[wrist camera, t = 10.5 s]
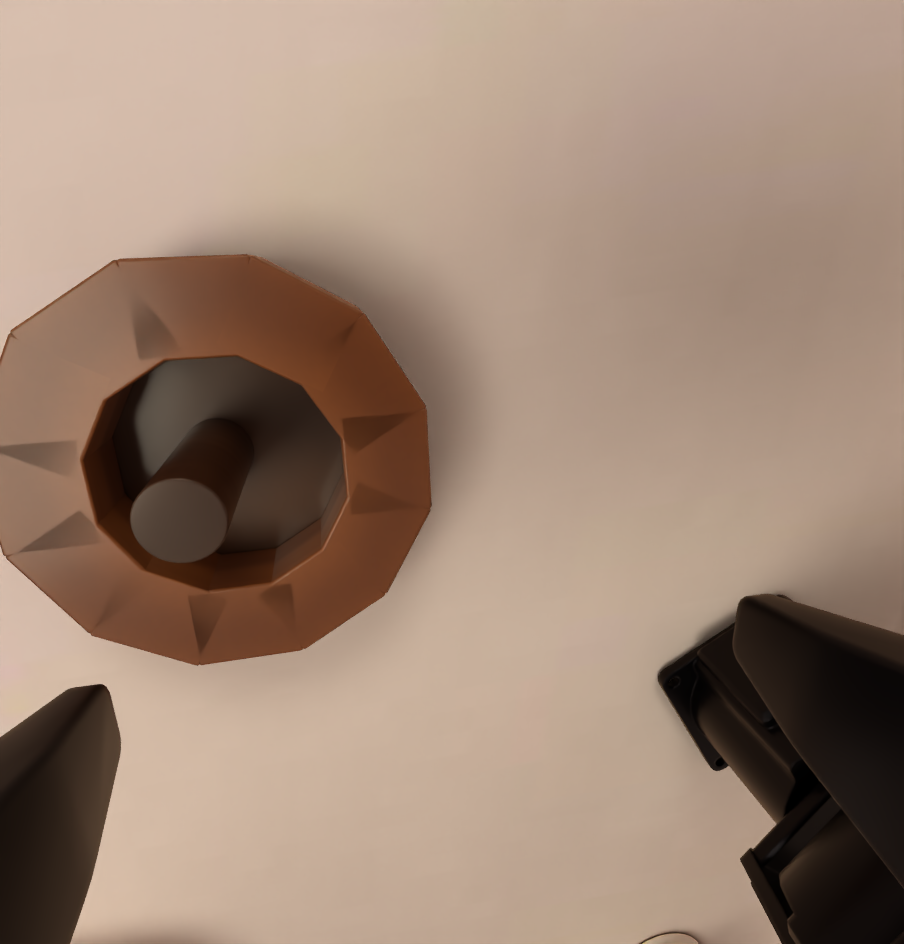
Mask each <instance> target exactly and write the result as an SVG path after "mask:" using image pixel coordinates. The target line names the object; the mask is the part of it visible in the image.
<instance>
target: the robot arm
mask: <svg viewBox="0 0 904 944" xmlns="http://www.w3.org/2000/svg"><path fill="white" fill-rule="evenodd" d="M673 678H674V679H673ZM671 679H673V680H672V681H670V680H671ZM669 681H670V682H669ZM658 682H659V684H660V686H661V688H662V689H663V691H664V693H665V694H666V696H667V698H668V699H669V701H670V703H671V704H672V706H673V708H674V709H675V711H676V713H677V714H678V716H679V718H680V719H681V721H682V722H683V724H684V726H685V727H686V729H687V731H688V732H689V734H690V736H691V737H692V739H693V741H694V742H695V744H696V746H697V747H698V749H699V751H700V752H701V754H702V755H703V757H704V759H705V760H706V762H707V763H708V764H709V766H710V767H711V768H712V769H713V770H715V771H720V770H722V769H724V768H726V767H728V766H730V767H731V769H732V770H733V771H734V772H735V774H736V775H737V776H738V777H739V778H740V780H741V781H742V782H743V783H744V785H745V786H746V787H747V788H748V789H749V791H750V792H751V793H752V794H753V796H754V797H755V798H756V799H757V800H758V802H759V803H760V804H761V805H762V807H763V808H764V809H765V810H766V811H767V813H768V814H769V815H770V816H771V818H772V819H773V820H774V821H775V822H776V826H775V827H774V828H773V829H772V830H771V831H770V832H769V833H768V834H767V835H766V836H765V837H764V838H763V839H762V840H761V841H760V843H759V844H758V845H757V846H756V847H755V848H754V849H752V848H750V849H749V850H748V851H747V852H746V853H745V854H744V855H743V856H742V857H741V858H740V860H741V862H742V864H743V866H744V868H745V870H746V872H747V874H748V876H749V878H750V880H751V885H752V887H753V889H754V891H755V893H756V895H757V897H758V899H759V901H760V903H761V904H762V906H763V908H764V910H765V912H766V914H767V916H768V918H769V920H770V922H771V924H772V925H773V927H774V929H775V931H776V933H777V935H778V937H779V939H780V941H781V943H782V944H904V635H901V634H898V633H895V632H891V631H888V630H885V629H882V628H878V627H875V626H872V625H869V624H866V623H862V622H859V621H856V620H853V619H849V618H846V617H843V616H840V615H836V614H833V613H830V612H827V611H823V610H820V609H817V608H814V607H810V606H807V605H804V604H801V603H797V602H794V601H792V600H791V599H790V598H788V597H787V596H785V595H777V596H775V595H771V594H760V595H753V596H746V597H744V598H743V599H741V601H740V602H739V604H738V609H737V615H736V622H735V623H734V624H732V625H731V626H729V627H728V628H726V629H725V630H723V631H721V632H720V633H718V634H717V635H715V636H714V637H712V638H711V639H709V640H708V641H706V642H705V643H703V644H702V645H700V646H699V647H697V648H696V649H694V650H693V651H691V652H690V653H688V654H687V655H685V656H684V657H682V658H681V659H679V660H678V661H676V662H675V663H673V664H671V665H670V666H668V667H667V668H665V669H664V670H663V671H662V672H661V673H660V675H659V676H658ZM120 752H121V737H120V732H119V728H118V724H117V720H116V716H115V712H114V708H113V703H112V699H111V695H110V692H109V690H108V689H107V687H106V686H104V685H102V684H97V685H90V686H82V687H75V688H70V689H68V690H66V691H65V692H63V693H62V694H60V695H59V696H58V697H56V698H55V699H53V700H52V701H51V702H49V703H48V704H46V705H45V706H44V707H42V708H41V709H39V710H38V711H37V712H35V713H34V714H32V715H31V716H30V717H28V718H27V719H25V720H24V721H23V722H21V723H20V724H18V725H17V726H16V727H14V728H13V729H11V730H10V731H8V732H7V733H6V734H4V735H3V736H1V737H0V944H70V942H71V939H72V936H73V933H74V930H75V927H76V925H77V922H78V919H79V916H80V913H81V910H82V907H83V904H84V901H85V898H86V895H87V892H88V888H89V885H90V882H91V879H92V875H93V871H94V867H95V863H96V859H97V855H98V851H99V846H100V842H101V838H102V833H103V829H104V824H105V820H106V815H107V811H108V807H109V802H110V798H111V793H112V789H113V784H114V780H115V776H116V771H117V767H118V762H119V758H120Z"/></svg>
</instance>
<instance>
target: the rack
mask: <svg viewBox="0 0 904 944" xmlns="http://www.w3.org/2000/svg"><path fill="white" fill-rule="evenodd" d="M112 439H113V444H114V448H115V452H116V457H117V461H118V466H119V470H120V475H121V479H122V483H123V488H124V492H125V494H126V495H127V496H128V497H129V498H130V499H131V500H132V501H133V505H132V508H131V512H130V525H131V529H132V532H133V534H134V536H135V538H136V540H137V541H138V543H139V544H140V545H141V546H142V547H143V548H144V549H145V550H146V551H147V552H148V553H150V554H151V555H153V556H155V557H157V558H159V559H161V560H164V561H168V562H173V563H190V562H195V561H198V560H201V559H204V558H206V557H208V556H209V555H211V554H212V553H214V552H215V553H218V554H221V555H223V554H231V553H240V552H248V551H256V550H265V549H273V548H278V547H279V546H281V545H282V544H283V543H285V542H286V541H288V540H289V539H291V538H292V537H294V536H295V535H297V534H298V533H300V532H301V531H303V530H304V529H306V528H307V527H309V526H310V525H312V524H313V523H315V522H316V521H318V520H319V519H321V517H322V515H323V513H324V511H325V509H326V507H327V505H328V503H329V501H330V499H331V497H332V494H333V492H334V490H335V488H336V486H337V484H338V482H339V480H340V478H341V476H342V474H343V472H344V471H343V461H342V451H341V441H340V436H339V435H338V434H337V432H336V431H335V430H334V428H333V427H332V426H331V424H330V423H329V422H328V420H327V419H326V418H325V416H324V415H323V414H322V412H321V411H320V410H319V408H318V407H317V406H316V404H315V403H314V402H313V400H312V399H311V398H310V396H309V395H308V394H307V392H306V391H305V390H304V388H303V387H302V385H299V384H297V383H295V382H293V381H291V380H288V379H286V378H284V377H282V376H280V375H278V374H275V373H273V372H271V371H269V370H267V369H264V368H262V367H260V366H258V365H256V364H253V363H251V362H249V361H247V360H245V359H242V358H240V357H238V356H233V357H218V358H202V359H186V360H170V361H166V362H164V363H163V364H161V365H160V366H158V367H157V368H156V369H154V370H153V371H151V372H150V373H148V374H147V375H145V376H144V377H142V378H141V379H139V380H138V381H136V382H135V383H133V385H132V388H131V390H130V393H129V396H128V398H127V401H126V403H125V406H124V408H123V411H122V413H121V416H120V418H119V421H118V423H117V426H116V428H115V431H114V433H113V436H112Z"/></svg>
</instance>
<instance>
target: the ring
mask: <svg viewBox="0 0 904 944" xmlns="http://www.w3.org/2000/svg"><path fill="white" fill-rule="evenodd" d="M233 356H238V357H240V358H242V359H245V360H247V361H249V362H251V363H253V364H256V365H258V366H260V367H262V368H264V369H267V370H269V371H271V372H273V373H275V374H278V375H280V376H282V377H284V378H286V379H288V380H291V381H293V382H295V383H297V384H299V385H302V387H303V388H304V390H305V391H306V392H307V394H308V395H309V396H310V398H311V399H312V400H313V402H314V403H315V404H316V406H317V407H318V408H319V410H320V411H321V412H322V414H323V415H324V416H325V418H326V419H327V420H328V422H329V423H330V424H331V426H332V427H333V428H334V430H335V431H336V432H337V434H338V435H339V436H340V441H341V451H342V461H343V471H344V472H343V474H342V476H341V478H340V480H339V482H338V484H337V486H336V488H335V490H334V492H333V494H332V497H331V499H330V501H329V503H328V505H327V507H326V509H325V511H324V513H323V515H322V517H321V519H319V520H318V521H316V522H315V523H313V524H312V525H310V526H309V527H307V528H306V529H304V530H303V531H301V532H300V533H298V534H297V535H295V536H294V537H292V538H291V539H289V540H288V541H286V542H285V543H283V544H282V545H281V546H279V547H278V548H273V549H265V550H256V551H248V552H240V553H231V554H223V555H221V554H218V553H215V552H214V553H212V554H211V555H209V556H208V557H206V558H204V559H201V560H198V561H195V562H190V563H173V562H168V561H164V560H161V559H159V558H157V557H155V556H153V555H151V554H150V553H148V552H147V551H146V550H145V549H144V548H143V547H142V546H141V545H140V544H139V543H138V541H137V540H136V538H135V536H134V534H133V532H132V529H131V525H130V512H131V508H132V505H133V501H132V500H131V499H130V498H129V497H128V496H127V495H126V494H125V492H124V488H123V483H122V479H121V475H120V470H119V466H118V461H117V457H116V452H115V448H114V444H113V439H112V436H113V433H114V431H115V428H116V426H117V423H118V421H119V418H120V416H121V413H122V411H123V408H124V406H125V403H126V401H127V398H128V396H129V393H130V390H131V388H132V385H133V383H135V382H136V381H138V380H139V379H141V378H142V377H144V376H145V375H147V374H148V373H150V372H151V371H153V370H154V369H156V368H157V367H158V366H160V365H161V364H163V363H164V362H166V361H170V360H186V359H202V358H218V357H233ZM431 506H432V502H431V483H430V464H429V444H428V425H427V410H426V405H425V404H424V402H423V401H422V399H421V398H420V396H419V395H418V393H417V392H416V390H415V389H414V387H413V386H412V384H411V383H410V381H409V380H408V378H407V377H406V375H405V374H404V372H403V371H402V369H401V368H400V366H399V365H398V363H397V362H396V360H395V359H394V357H393V356H392V354H391V353H390V351H389V350H388V348H387V347H386V345H385V344H384V342H383V341H382V339H381V338H380V336H379V335H378V333H377V332H376V330H375V329H374V327H373V326H372V324H371V323H370V321H369V320H368V318H367V317H366V315H365V314H364V313H363V312H362V311H361V310H360V309H359V308H357V306H356V305H354V304H352V303H350V302H348V301H346V300H344V299H342V298H340V297H338V296H336V295H334V294H332V293H330V292H328V291H326V290H324V289H323V288H321V287H319V286H317V285H315V284H313V283H311V282H309V281H307V280H305V279H303V278H301V277H299V276H297V275H295V274H293V273H291V272H290V271H288V270H286V269H284V268H282V267H280V266H278V265H276V264H274V263H272V262H270V261H268V260H266V259H264V258H262V257H258V256H254V255H248V254H241V255H212V256H184V257H155V258H127V259H118V260H113V261H112V262H110V263H109V264H107V265H106V266H104V267H103V268H101V269H100V270H99V271H97V272H96V273H94V274H93V275H91V276H90V277H88V278H87V279H85V280H84V281H82V282H81V283H79V284H78V285H77V286H75V287H74V288H72V289H71V290H69V291H68V292H66V293H65V294H63V295H62V296H60V297H59V298H57V299H56V300H55V301H53V302H52V303H50V304H49V305H47V306H46V307H44V308H43V309H41V310H40V311H38V312H37V313H35V314H34V315H33V316H31V317H30V318H28V319H27V320H25V321H24V322H22V323H21V324H19V325H18V326H16V327H15V328H13V329H12V330H11V333H10V334H9V335H8V337H7V340H6V343H5V346H4V349H3V352H2V355H1V357H0V545H1V549H2V552H3V555H4V556H6V558H7V560H9V561H10V562H11V563H12V564H13V565H14V566H15V567H16V568H17V569H18V570H20V571H21V572H22V573H23V574H24V575H25V576H26V577H27V578H28V579H30V580H31V581H32V582H33V583H34V584H35V585H36V586H37V587H38V588H40V589H41V590H42V591H43V592H44V593H45V594H46V595H47V596H48V597H49V598H51V599H52V600H53V601H54V602H55V603H56V604H57V605H58V606H59V607H61V608H62V609H63V610H64V611H65V612H66V613H67V614H68V615H69V616H71V617H72V618H73V619H74V620H75V621H76V622H77V623H78V624H79V625H80V626H82V627H83V628H84V629H85V630H86V631H87V632H88V633H91V635H92V636H95V637H99V638H102V639H106V640H109V641H113V642H116V643H120V644H123V645H127V646H130V647H134V648H137V649H141V650H144V651H148V652H151V653H155V654H158V655H162V656H165V657H169V658H172V659H176V660H179V661H183V662H186V663H190V664H193V665H197V666H198V665H199V664H200V665H205V664H212V663H219V662H225V661H232V660H239V659H246V658H252V657H259V656H266V655H273V654H279V653H286V652H293V651H300V650H302V649H303V648H304V649H305V648H307V647H309V646H310V645H312V644H313V643H315V642H316V641H318V640H319V639H321V638H322V637H324V636H325V635H327V634H328V633H330V632H331V631H332V630H334V629H335V628H337V627H338V626H340V625H341V624H343V623H344V622H346V621H347V620H349V619H350V618H352V617H353V616H355V615H356V614H358V613H359V612H361V611H362V610H364V609H365V608H367V607H368V606H370V605H371V604H373V603H374V602H376V601H377V600H379V599H380V598H382V597H383V596H384V595H385V593H387V592H388V590H389V588H390V586H391V585H392V583H393V581H394V579H395V577H396V575H397V573H398V571H399V569H400V567H401V566H402V564H403V562H404V560H405V558H406V556H407V554H408V552H409V550H410V548H411V547H412V545H413V543H414V541H415V539H416V537H417V535H418V533H419V531H420V529H421V528H422V526H423V524H424V522H425V520H426V518H427V516H428V514H429V512H430V508H431Z"/></svg>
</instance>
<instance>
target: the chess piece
mask: <svg viewBox="0 0 904 944" xmlns="http://www.w3.org/2000/svg"><path fill="white" fill-rule="evenodd" d="M642 944H699V943H698V942H697V941H696V940H695V939H694V938H692V937H691V936H688V935H685V934H679V933H671V934H664V935H660V936H657V937H654V938H652V939H650V940H648V941H646V942H644V943H642Z"/></svg>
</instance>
